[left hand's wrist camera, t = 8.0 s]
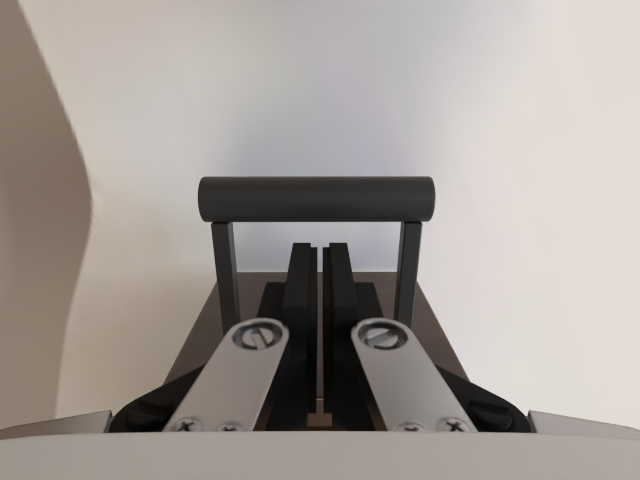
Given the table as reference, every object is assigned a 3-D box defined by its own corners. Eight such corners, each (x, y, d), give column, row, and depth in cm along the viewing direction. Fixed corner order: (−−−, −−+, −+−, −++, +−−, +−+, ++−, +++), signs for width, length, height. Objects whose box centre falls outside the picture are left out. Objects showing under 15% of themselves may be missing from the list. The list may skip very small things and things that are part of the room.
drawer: (208, 151, 18) (114, 204, 9) (424, 151, 18) (517, 203, 9) (244, 501, 26) (212, 688, 18) (389, 500, 26) (423, 685, 18)
